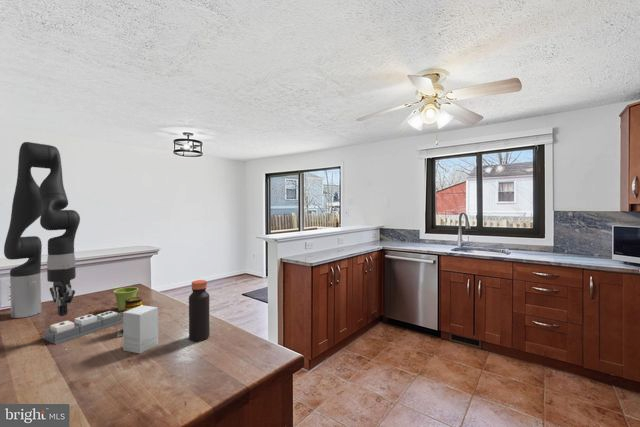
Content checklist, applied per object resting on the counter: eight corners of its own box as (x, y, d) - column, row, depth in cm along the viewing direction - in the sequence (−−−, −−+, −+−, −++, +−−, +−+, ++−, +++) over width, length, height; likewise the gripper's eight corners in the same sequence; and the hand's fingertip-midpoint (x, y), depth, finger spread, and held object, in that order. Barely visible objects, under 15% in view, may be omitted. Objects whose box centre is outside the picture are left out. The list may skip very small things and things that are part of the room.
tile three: (96, 321, 117) (96, 313, 117) (110, 317, 121) (110, 309, 121) (103, 324, 114) (103, 316, 114) (117, 319, 119) (117, 311, 119)
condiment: (144, 332, 110) (144, 299, 109) (117, 337, 105) (116, 303, 105) (143, 325, 116) (143, 294, 116) (117, 330, 111) (117, 298, 111)
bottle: (213, 335, 107) (213, 280, 106) (198, 343, 101) (198, 285, 100) (199, 332, 110) (199, 278, 109) (184, 339, 104) (184, 282, 103)
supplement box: (159, 344, 100) (159, 307, 100) (139, 354, 93) (139, 314, 93) (142, 340, 102) (142, 304, 102) (122, 350, 95) (122, 311, 95)
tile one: (50, 333, 104) (50, 324, 104) (67, 328, 108) (67, 319, 108) (57, 336, 102) (56, 326, 101) (74, 330, 106) (74, 321, 106)
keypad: (42, 338, 104) (42, 329, 104) (110, 317, 123) (110, 310, 123) (55, 344, 99) (55, 335, 99) (124, 321, 119) (124, 314, 119)
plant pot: (133, 304, 140) (132, 285, 140) (142, 308, 135) (142, 289, 135) (110, 309, 133) (110, 290, 133) (118, 314, 127) (118, 294, 127)
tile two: (74, 325, 110) (74, 317, 110) (90, 321, 115) (90, 313, 115) (81, 328, 108) (81, 319, 108) (97, 323, 112) (97, 315, 112)
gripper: (39, 266, 104) (40, 315, 104) (57, 270, 98) (58, 322, 98) (65, 263, 111) (66, 309, 111) (83, 266, 105) (84, 314, 105)
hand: (62, 315), depth 105 cm, fingers closed
